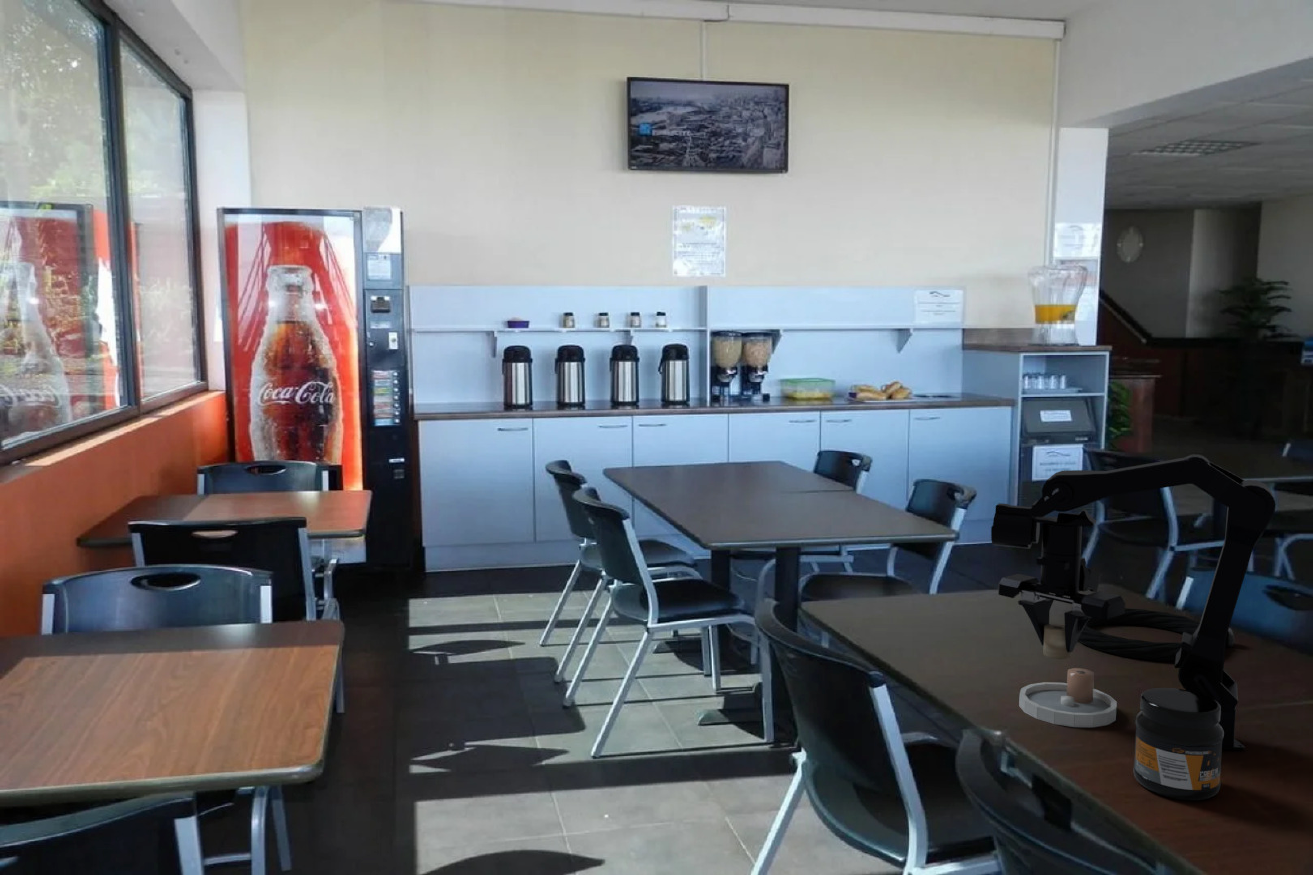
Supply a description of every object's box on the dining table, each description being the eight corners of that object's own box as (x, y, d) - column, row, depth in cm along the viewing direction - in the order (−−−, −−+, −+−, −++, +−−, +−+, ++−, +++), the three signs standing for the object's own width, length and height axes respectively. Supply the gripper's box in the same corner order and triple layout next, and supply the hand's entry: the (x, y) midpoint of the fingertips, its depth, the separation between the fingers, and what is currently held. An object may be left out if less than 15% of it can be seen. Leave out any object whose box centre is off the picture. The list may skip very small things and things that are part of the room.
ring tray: (1131, 728, 156) (1131, 715, 156) (1036, 726, 157) (1036, 714, 157) (1095, 694, 170) (1096, 683, 170) (1008, 693, 171) (1009, 681, 171)
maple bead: (1075, 655, 160) (1076, 627, 159) (1061, 660, 158) (1062, 632, 157) (1052, 649, 163) (1053, 622, 163) (1038, 654, 161) (1039, 626, 160)
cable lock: (1055, 602, 216) (1208, 609, 210) (1055, 619, 216) (1207, 627, 210) (1083, 640, 189) (1259, 650, 183) (1082, 660, 189) (1258, 670, 183)
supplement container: (1170, 807, 130) (1175, 717, 129) (1115, 773, 140) (1119, 689, 139) (1239, 798, 133) (1244, 710, 131) (1180, 765, 143) (1184, 683, 142)
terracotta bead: (1097, 699, 165) (1099, 672, 165) (1084, 705, 163) (1085, 677, 162) (1074, 692, 168) (1076, 666, 168) (1061, 698, 166) (1062, 671, 166)
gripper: (1146, 555, 156) (1141, 653, 158) (1037, 535, 171) (1033, 626, 172) (1107, 565, 149) (1102, 668, 151) (997, 544, 164) (994, 638, 166)
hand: (1057, 648), depth 160 cm, fingers closed on maple bead, 4 cm apart
